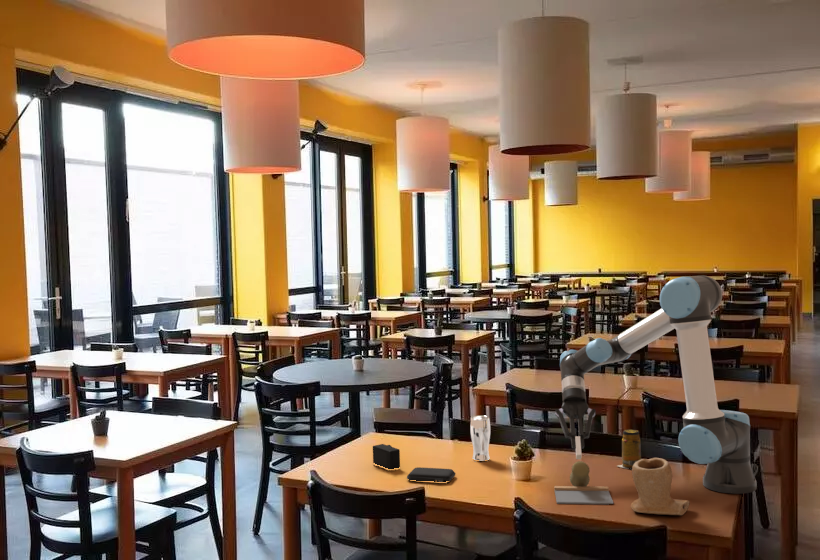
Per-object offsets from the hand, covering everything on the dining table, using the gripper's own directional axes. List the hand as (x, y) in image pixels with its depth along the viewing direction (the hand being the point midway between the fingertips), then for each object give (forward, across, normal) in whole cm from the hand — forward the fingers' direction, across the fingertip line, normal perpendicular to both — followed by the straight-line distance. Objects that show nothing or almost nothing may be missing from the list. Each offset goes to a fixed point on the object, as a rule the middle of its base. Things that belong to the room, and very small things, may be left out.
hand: (578, 456), depth 243 cm
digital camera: (-8, +63, -22) cm, 67 cm away
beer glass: (-15, +31, -29) cm, 45 cm away
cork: (+4, 0, -6) cm, 7 cm away
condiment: (-10, -20, -24) cm, 32 cm away
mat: (+13, 0, 0) cm, 13 cm away
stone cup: (+23, -20, +9) cm, 31 cm away
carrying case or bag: (+2, +47, -12) cm, 48 cm away
